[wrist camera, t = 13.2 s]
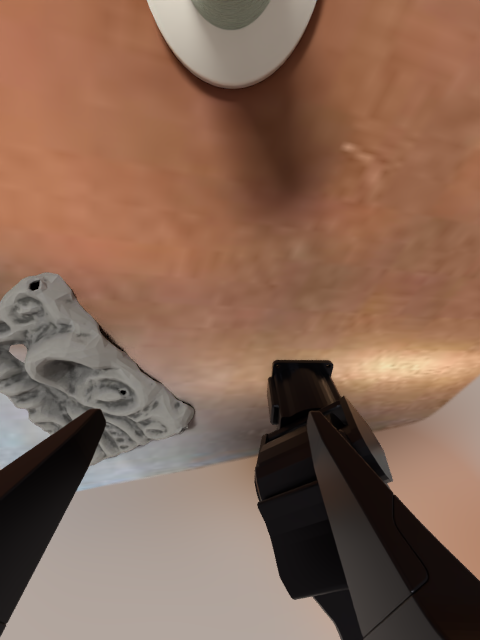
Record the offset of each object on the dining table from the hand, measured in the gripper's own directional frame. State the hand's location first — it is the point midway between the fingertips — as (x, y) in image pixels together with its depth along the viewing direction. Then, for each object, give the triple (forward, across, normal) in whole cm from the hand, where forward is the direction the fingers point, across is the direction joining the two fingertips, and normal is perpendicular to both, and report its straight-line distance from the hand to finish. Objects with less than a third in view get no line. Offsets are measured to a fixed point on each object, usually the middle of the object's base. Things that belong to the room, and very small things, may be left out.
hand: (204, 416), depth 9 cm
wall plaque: (+14, +18, +10) cm, 24 cm away
